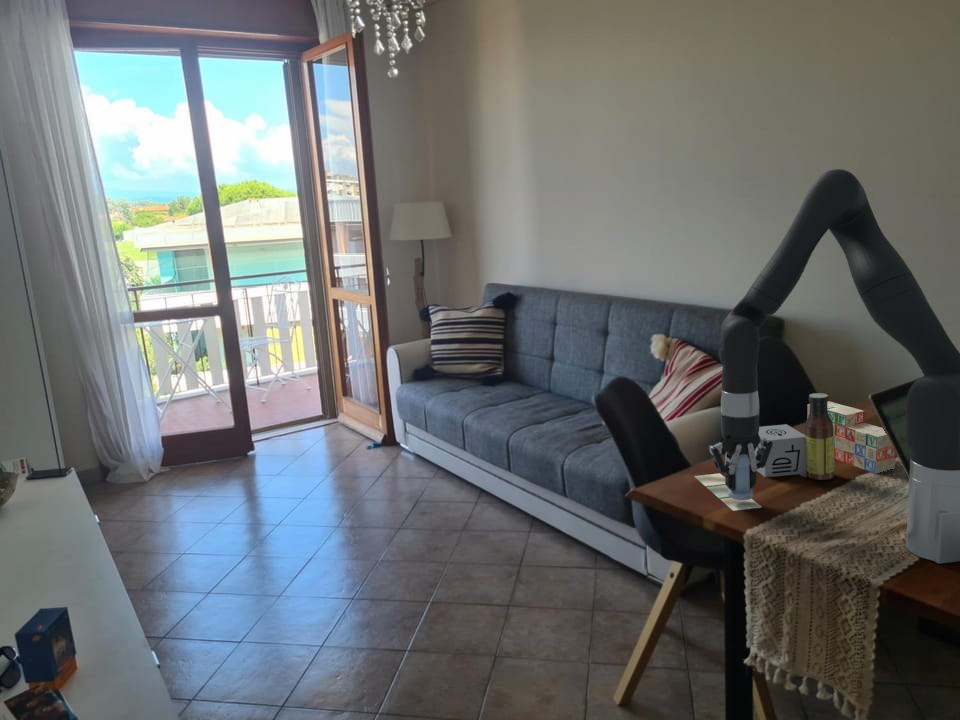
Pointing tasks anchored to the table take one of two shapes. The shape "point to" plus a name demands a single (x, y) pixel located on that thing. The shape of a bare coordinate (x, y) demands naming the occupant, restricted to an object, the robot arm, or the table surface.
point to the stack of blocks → (859, 440)
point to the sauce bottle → (819, 439)
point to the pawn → (742, 480)
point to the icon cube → (783, 451)
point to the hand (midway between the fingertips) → (740, 487)
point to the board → (725, 492)
